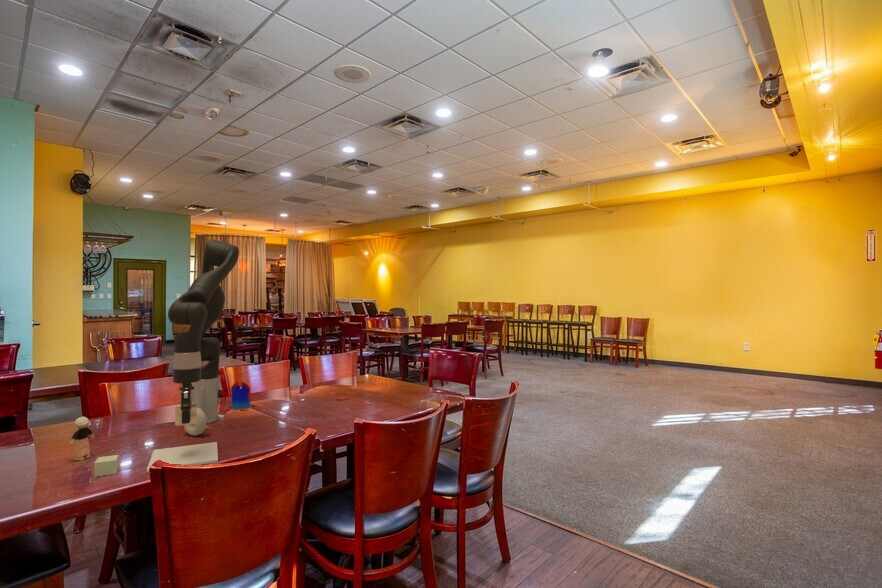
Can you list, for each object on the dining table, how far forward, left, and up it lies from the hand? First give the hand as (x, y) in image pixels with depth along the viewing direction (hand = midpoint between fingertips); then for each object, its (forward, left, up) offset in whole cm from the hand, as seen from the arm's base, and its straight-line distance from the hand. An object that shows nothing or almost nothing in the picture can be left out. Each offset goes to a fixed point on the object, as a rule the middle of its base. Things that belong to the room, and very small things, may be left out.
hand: (186, 420), depth 137 cm
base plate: (0, 0, -11) cm, 11 cm away
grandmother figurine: (-12, -28, -12) cm, 33 cm away
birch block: (0, 0, -1) cm, 1 cm away
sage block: (+4, -19, -11) cm, 23 cm away
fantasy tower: (-58, +19, -12) cm, 62 cm away
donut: (-23, +2, -12) cm, 26 cm away
